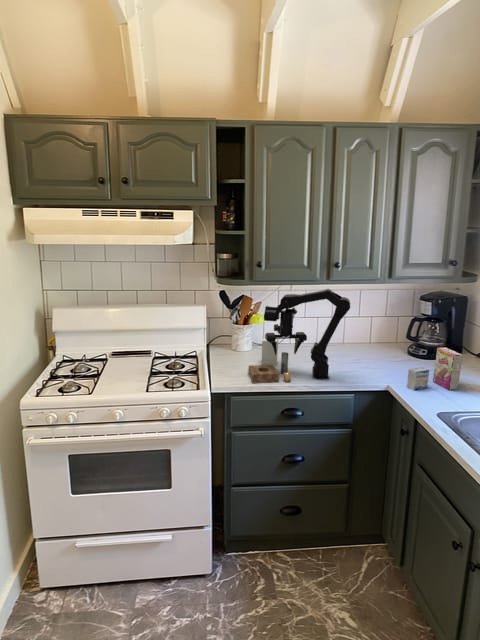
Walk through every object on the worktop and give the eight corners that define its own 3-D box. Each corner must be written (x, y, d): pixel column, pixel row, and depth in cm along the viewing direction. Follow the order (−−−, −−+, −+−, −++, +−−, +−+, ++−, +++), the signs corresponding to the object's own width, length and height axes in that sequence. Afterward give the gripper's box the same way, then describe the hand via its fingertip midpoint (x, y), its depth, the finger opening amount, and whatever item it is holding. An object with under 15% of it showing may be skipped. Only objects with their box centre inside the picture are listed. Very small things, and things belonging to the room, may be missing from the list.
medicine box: (413, 390, 205) (415, 372, 203) (406, 387, 209) (408, 368, 207) (427, 388, 208) (429, 369, 206) (420, 384, 212) (422, 366, 210)
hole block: (273, 372, 223) (273, 364, 222) (278, 382, 212) (279, 373, 211) (248, 373, 222) (248, 365, 221) (252, 383, 210) (252, 374, 209)
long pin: (286, 372, 225) (287, 352, 222) (288, 374, 222) (289, 354, 219) (280, 372, 224) (280, 352, 222) (281, 374, 221) (282, 354, 219)
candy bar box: (432, 381, 216) (436, 347, 212) (441, 380, 218) (445, 346, 214) (448, 390, 206) (453, 355, 202) (458, 389, 207) (463, 354, 203)
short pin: (289, 379, 215) (289, 371, 214) (291, 382, 212) (291, 373, 211) (282, 380, 215) (283, 371, 214) (284, 382, 212) (284, 374, 211)
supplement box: (275, 366, 233) (276, 341, 230) (261, 364, 234) (261, 340, 231) (277, 361, 240) (278, 337, 237) (263, 360, 241) (264, 336, 238)
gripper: (301, 317, 226) (299, 348, 230) (263, 318, 223) (262, 349, 227) (307, 323, 215) (306, 355, 219) (267, 324, 213) (266, 357, 216)
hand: (285, 354), depth 221 cm, fingers open, 9 cm apart
